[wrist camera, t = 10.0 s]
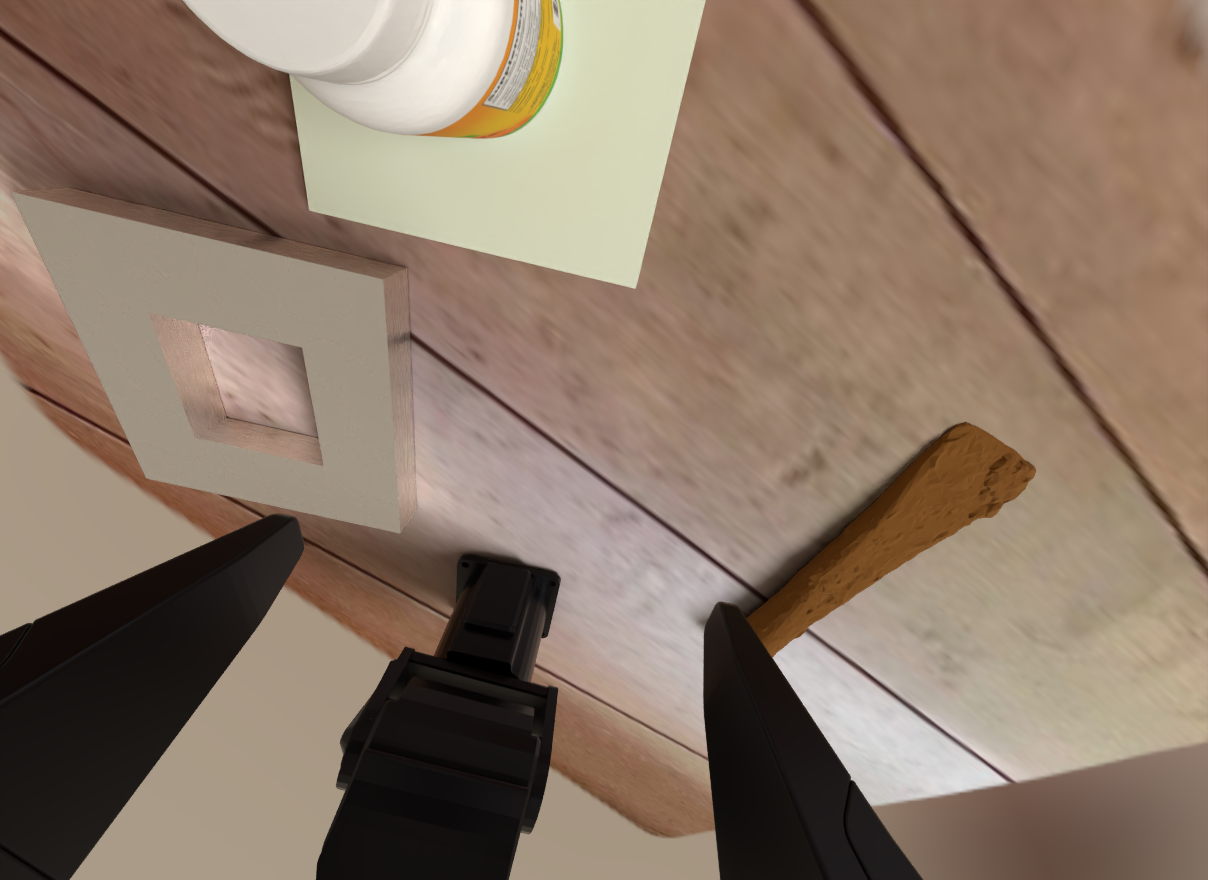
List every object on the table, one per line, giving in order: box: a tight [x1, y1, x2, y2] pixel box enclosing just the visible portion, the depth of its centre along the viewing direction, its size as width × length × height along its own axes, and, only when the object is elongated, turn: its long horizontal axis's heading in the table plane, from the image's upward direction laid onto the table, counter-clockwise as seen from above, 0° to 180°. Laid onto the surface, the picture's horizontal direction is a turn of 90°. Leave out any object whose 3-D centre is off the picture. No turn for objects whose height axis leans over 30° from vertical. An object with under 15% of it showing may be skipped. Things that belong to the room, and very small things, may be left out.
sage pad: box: [289, 0, 706, 289], centre depth 14 cm, size 13×13×1 cm
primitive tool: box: [746, 422, 1036, 657], centre depth 24 cm, size 19×6×4 cm, turn 151°
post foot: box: [11, 188, 417, 534], centre depth 22 cm, size 14×14×2 cm
